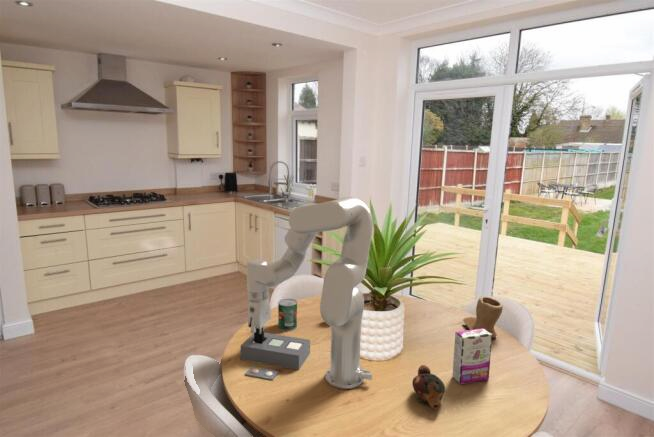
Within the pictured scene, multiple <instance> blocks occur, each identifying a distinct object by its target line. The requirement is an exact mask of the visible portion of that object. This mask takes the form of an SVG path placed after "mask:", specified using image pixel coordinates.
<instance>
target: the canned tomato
mask: <svg viewBox="0 0 654 437" xmlns="http://www.w3.org/2000/svg"><path fill="white" fill-rule="evenodd" d="M277 309H278V312H277V313H278V315H277V316H278V318H277V320H278V321H277V324H278V326H277V327H278V329H279V330H280V331H285V332H289V331H293V330H295V329H297V327H298V326H297V325H298V301H297V300H296V299H292V298H282V299H280V300H279V301H278V308H277Z"/></svg>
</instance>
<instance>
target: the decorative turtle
mask: <svg viewBox="0 0 654 437" xmlns="http://www.w3.org/2000/svg"><path fill="white" fill-rule="evenodd" d="M411 384H412V388H413V391H414V393H415V395H416V398H417V400H418V401H419V403H422V404H423V403H425V402H427V403H428V405H429V406H430V407H431V409H434V410H435V409H436V410H438V409H439V408H440V406H441V401H442V399H443V398H444V396H445V395H446V386H445V384H444V382H443V381H442V379H440V377H438V376H437V375H436V374H433V373H432V372H431V369H430V368H429V366H427V365H426V364H422V365H420V366H419V368H418V370H417V375H416V376H415V377H413V380H412V383H411Z"/></svg>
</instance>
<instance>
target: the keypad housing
mask: <svg viewBox="0 0 654 437" xmlns="http://www.w3.org/2000/svg"><path fill="white" fill-rule="evenodd" d="M272 339H276V340H282V341H284V343H283V344H282V345H281V347H276V346H270V345H268V344H269V343H270V342H271V341H272ZM253 342H254V333H253V332H252V334H251V335H250V336H249V337H248V338H247V339H246V340H245V341H244V342H242V344H240V360H242V361H247V362H253V363H258V364H264V365H270V366H275V367H281V368H285V369H286V368H287V369H292V370H296V371H300V370H301V368H302V366H303V364H304V363H305V361H306V360H307V359H308V357H309V355H310V354H311V339H309V338H308V339H307V338H301V337H295V336H289V335H288V336H287V335H282V334H275V333H269V332H264V342H263V343H262V344H258V343H253ZM290 342H294V343H300V344H302V346H301V348H300V349H299V350H294V349H288V348H286V347H287V346H288V345H289V343H290Z"/></svg>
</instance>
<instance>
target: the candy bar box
mask: <svg viewBox="0 0 654 437" xmlns="http://www.w3.org/2000/svg"><path fill="white" fill-rule="evenodd" d="M492 343H493V338H492V334H491V333H490V332H488V331H487V330H486V329H484V328H482V329H475V330H470V329H469V330H467V329H466V330H461V331H455V332H454V346H453V347H454V349H453V364H452V378H453V379H454V380H455V381H457V383H458V384H459V385H464V384H470V383H476V382H482V381H488V380H489V379H490V366H491V354H492Z"/></svg>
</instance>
